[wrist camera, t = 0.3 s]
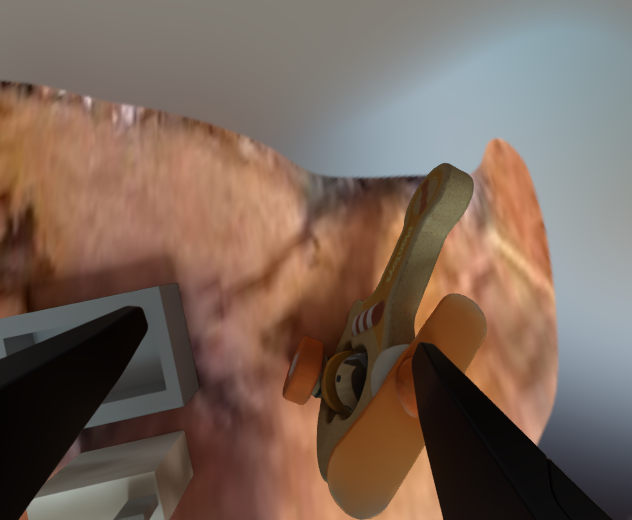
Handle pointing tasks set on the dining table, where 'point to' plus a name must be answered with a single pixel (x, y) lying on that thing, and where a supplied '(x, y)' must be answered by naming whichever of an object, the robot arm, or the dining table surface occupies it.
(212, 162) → the dining table surface
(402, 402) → the toy helicopter
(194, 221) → the dining table surface
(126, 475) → the white block with tab
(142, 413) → the cradle
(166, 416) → the dining table surface
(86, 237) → the dining table surface
